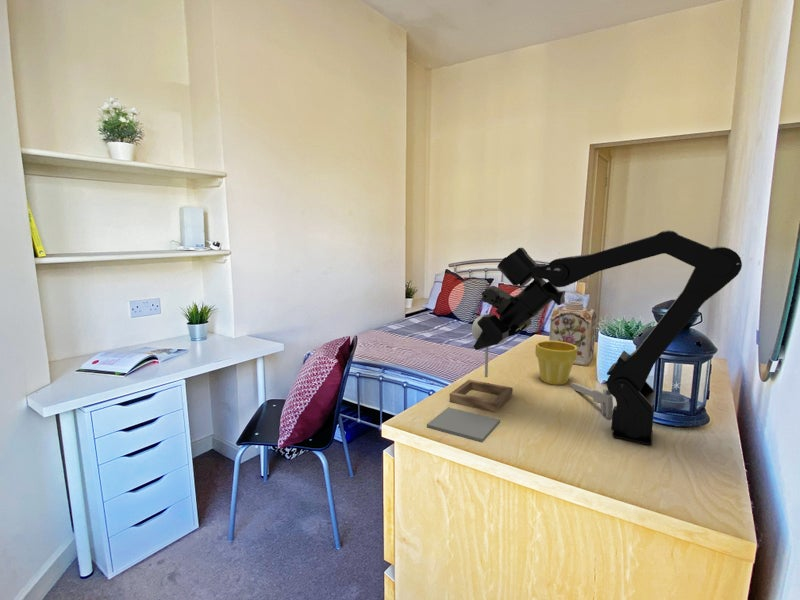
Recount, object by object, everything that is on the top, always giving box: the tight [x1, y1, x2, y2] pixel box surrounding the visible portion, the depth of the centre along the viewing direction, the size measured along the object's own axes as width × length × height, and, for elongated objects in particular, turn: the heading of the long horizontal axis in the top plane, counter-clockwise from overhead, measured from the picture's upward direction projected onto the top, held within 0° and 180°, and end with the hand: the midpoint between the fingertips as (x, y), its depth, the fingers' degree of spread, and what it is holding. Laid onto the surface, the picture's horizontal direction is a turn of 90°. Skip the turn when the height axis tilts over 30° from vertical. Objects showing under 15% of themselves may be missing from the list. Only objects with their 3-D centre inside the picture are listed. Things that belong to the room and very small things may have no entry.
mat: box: [426, 407, 501, 443], centre depth 87 cm, size 12×10×1 cm
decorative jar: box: [548, 300, 597, 367], centre depth 131 cm, size 12×12×18 cm
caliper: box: [568, 382, 614, 419], centre depth 99 cm, size 20×1×6 cm, turn 0°
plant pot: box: [535, 340, 577, 386], centre depth 112 cm, size 10×10×10 cm
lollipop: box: [471, 313, 490, 378], centre depth 98 cm, size 7×7×15 cm
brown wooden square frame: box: [449, 379, 514, 413], centre depth 101 cm, size 11×11×2 cm
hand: (481, 344), depth 99 cm, fingers closed on lollipop, 7 cm apart
